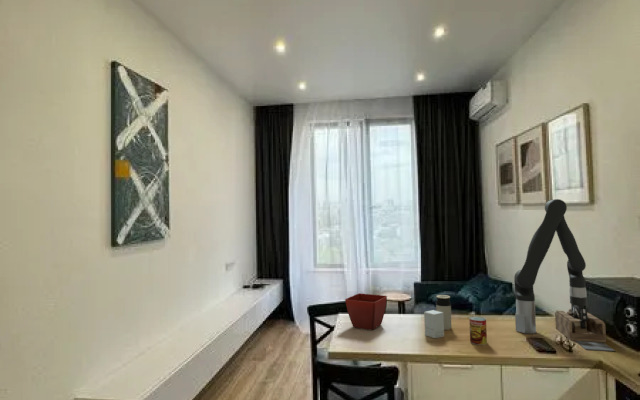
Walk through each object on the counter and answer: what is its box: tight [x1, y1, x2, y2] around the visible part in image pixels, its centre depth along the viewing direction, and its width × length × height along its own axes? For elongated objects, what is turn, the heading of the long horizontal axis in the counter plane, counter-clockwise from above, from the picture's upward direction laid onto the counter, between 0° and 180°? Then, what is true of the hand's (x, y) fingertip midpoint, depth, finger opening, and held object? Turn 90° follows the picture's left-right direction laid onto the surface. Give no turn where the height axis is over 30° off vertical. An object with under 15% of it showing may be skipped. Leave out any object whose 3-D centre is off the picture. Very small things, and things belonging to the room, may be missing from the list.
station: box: [554, 310, 616, 353], centre depth 197 cm, size 34×16×10 cm, turn 166°
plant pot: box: [344, 293, 388, 331], centre depth 226 cm, size 19×19×17 cm
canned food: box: [468, 315, 488, 346], centre depth 195 cm, size 8×8×12 cm
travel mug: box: [435, 294, 452, 331], centre depth 220 cm, size 8×8×18 cm
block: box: [572, 319, 586, 331], centre depth 203 cm, size 4×5×5 cm
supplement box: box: [423, 309, 445, 339], centre depth 207 cm, size 7×7×13 cm
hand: (579, 326), depth 203 cm, fingers open, 8 cm apart
